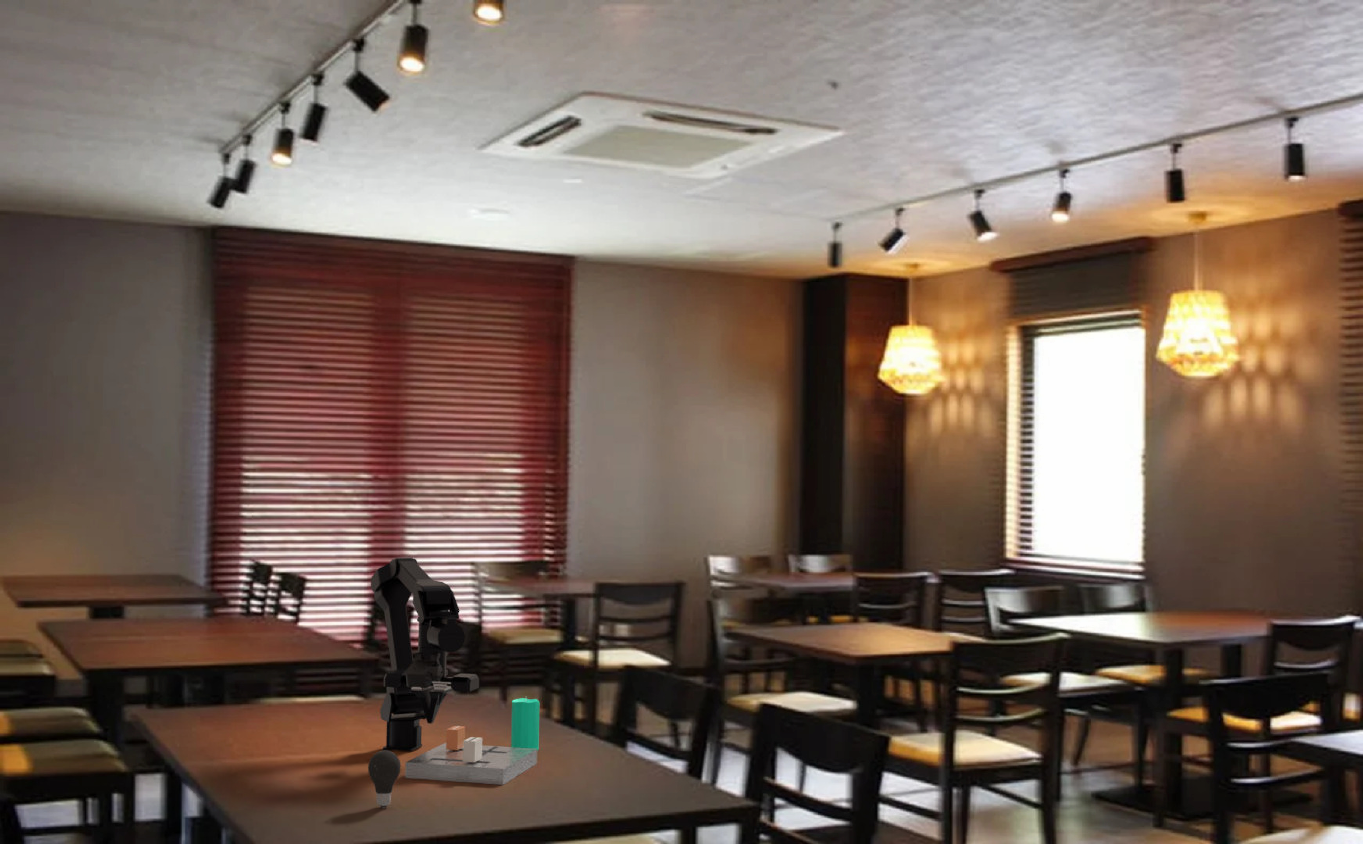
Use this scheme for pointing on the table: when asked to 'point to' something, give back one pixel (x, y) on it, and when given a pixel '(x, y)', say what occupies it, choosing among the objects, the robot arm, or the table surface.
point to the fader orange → (455, 737)
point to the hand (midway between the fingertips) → (430, 723)
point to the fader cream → (472, 749)
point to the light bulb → (384, 775)
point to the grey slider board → (472, 765)
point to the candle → (525, 723)
